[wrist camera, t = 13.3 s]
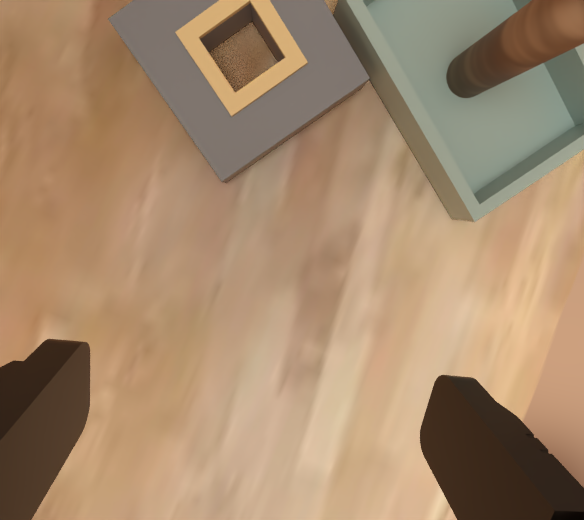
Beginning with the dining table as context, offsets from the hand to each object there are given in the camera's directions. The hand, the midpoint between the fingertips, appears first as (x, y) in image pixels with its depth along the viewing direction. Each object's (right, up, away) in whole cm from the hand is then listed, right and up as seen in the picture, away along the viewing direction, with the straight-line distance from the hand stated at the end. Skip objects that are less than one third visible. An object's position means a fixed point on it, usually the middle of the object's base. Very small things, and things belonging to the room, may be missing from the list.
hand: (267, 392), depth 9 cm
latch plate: (-3, +19, +23) cm, 30 cm away
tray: (+15, +19, +24) cm, 34 cm away
